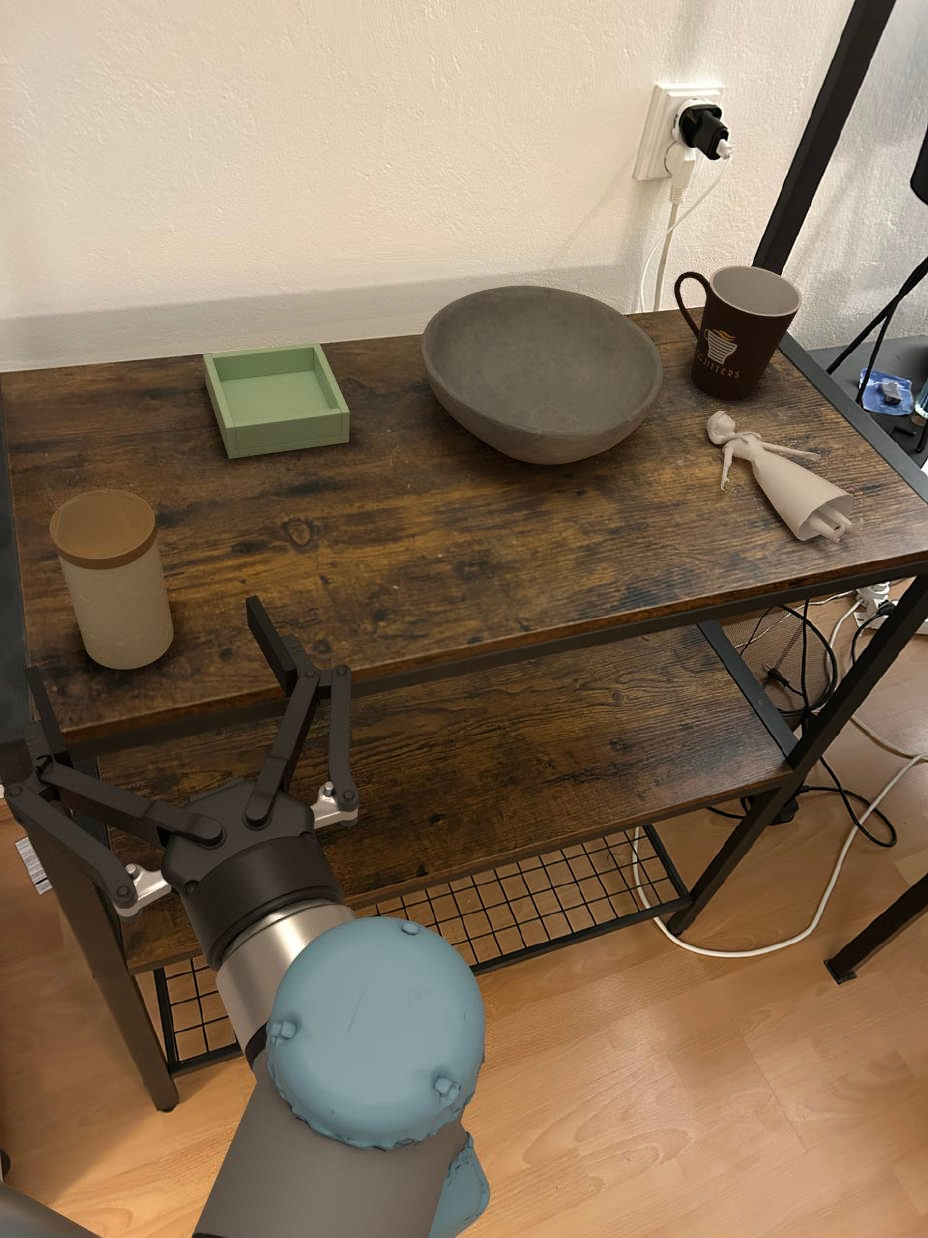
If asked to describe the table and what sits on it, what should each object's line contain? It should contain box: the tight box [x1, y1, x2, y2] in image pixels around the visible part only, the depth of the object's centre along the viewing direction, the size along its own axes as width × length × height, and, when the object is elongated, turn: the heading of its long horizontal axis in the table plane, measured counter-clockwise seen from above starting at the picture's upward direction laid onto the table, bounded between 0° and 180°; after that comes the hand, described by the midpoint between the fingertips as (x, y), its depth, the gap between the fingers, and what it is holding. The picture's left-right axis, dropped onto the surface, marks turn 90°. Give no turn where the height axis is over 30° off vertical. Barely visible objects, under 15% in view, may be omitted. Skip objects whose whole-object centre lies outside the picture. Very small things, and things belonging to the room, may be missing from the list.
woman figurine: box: [706, 410, 866, 544], centre depth 85 cm, size 12×4×18 cm
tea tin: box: [49, 488, 175, 670], centre depth 64 cm, size 6×6×11 cm
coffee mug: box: [673, 264, 803, 401], centre depth 94 cm, size 12×9×10 cm
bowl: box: [420, 285, 664, 465], centre depth 86 cm, size 21×21×8 cm
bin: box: [202, 341, 351, 460], centre depth 85 cm, size 10×10×3 cm
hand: (148, 643), depth 60 cm, fingers open, 13 cm apart
